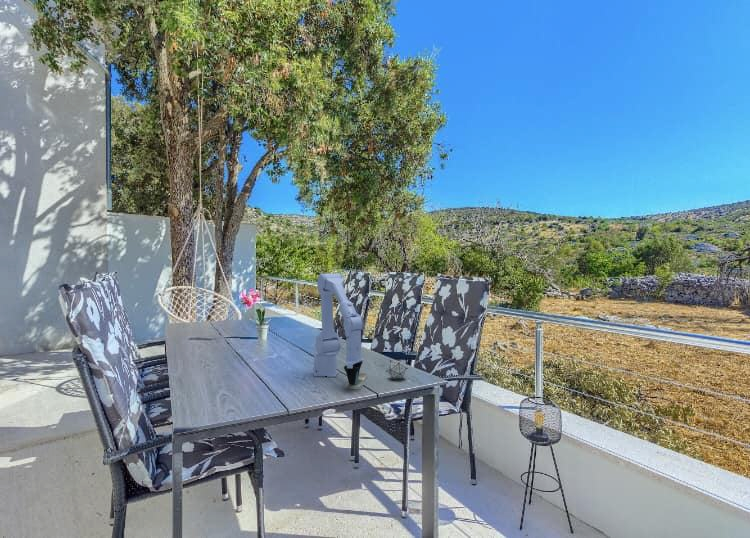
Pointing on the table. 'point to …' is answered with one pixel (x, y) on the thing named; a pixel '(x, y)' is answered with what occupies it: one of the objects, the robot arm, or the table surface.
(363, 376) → the board
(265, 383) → the table surface
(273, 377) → the table surface
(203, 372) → the table surface
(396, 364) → the game die
